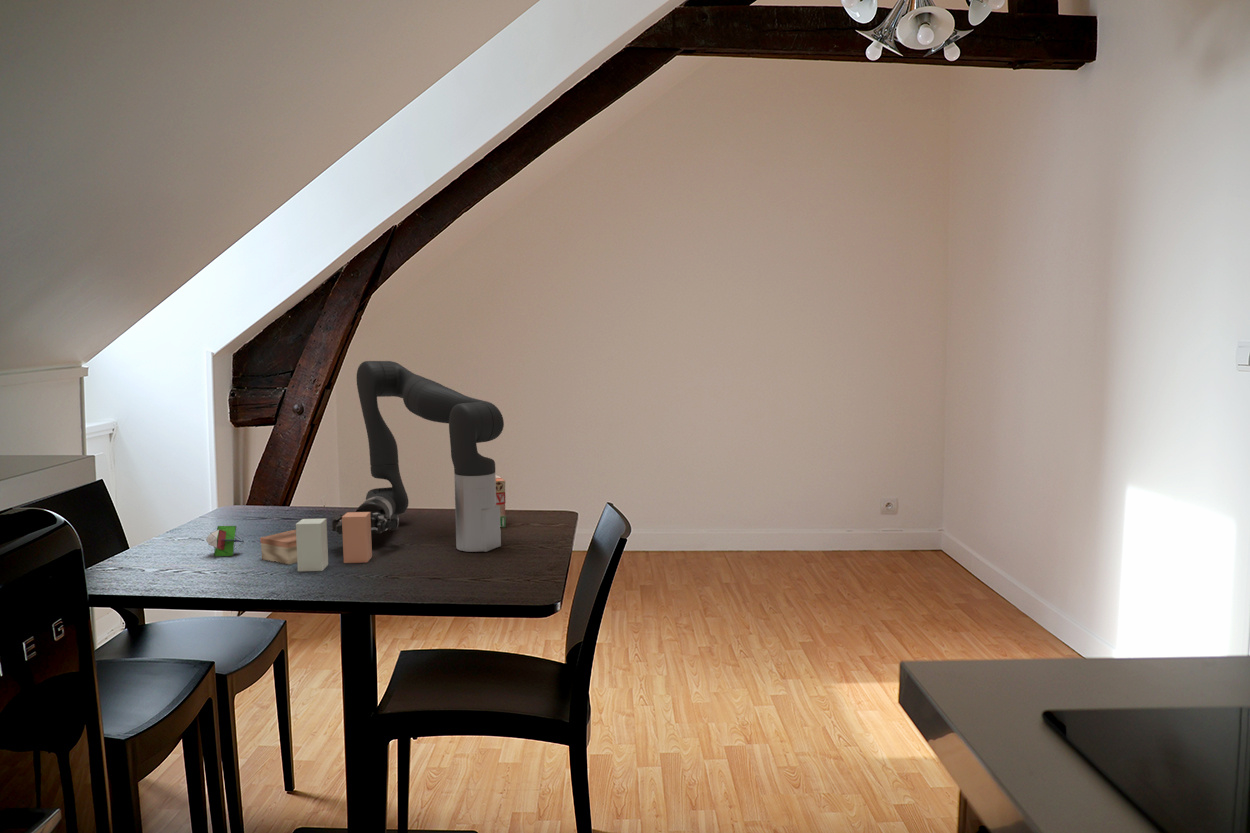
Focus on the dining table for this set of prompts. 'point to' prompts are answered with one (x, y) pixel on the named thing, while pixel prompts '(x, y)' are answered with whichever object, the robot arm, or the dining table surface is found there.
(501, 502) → the stack of blocks
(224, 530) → the geometric puzzle
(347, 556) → the terracotta block
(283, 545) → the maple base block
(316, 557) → the sage block
